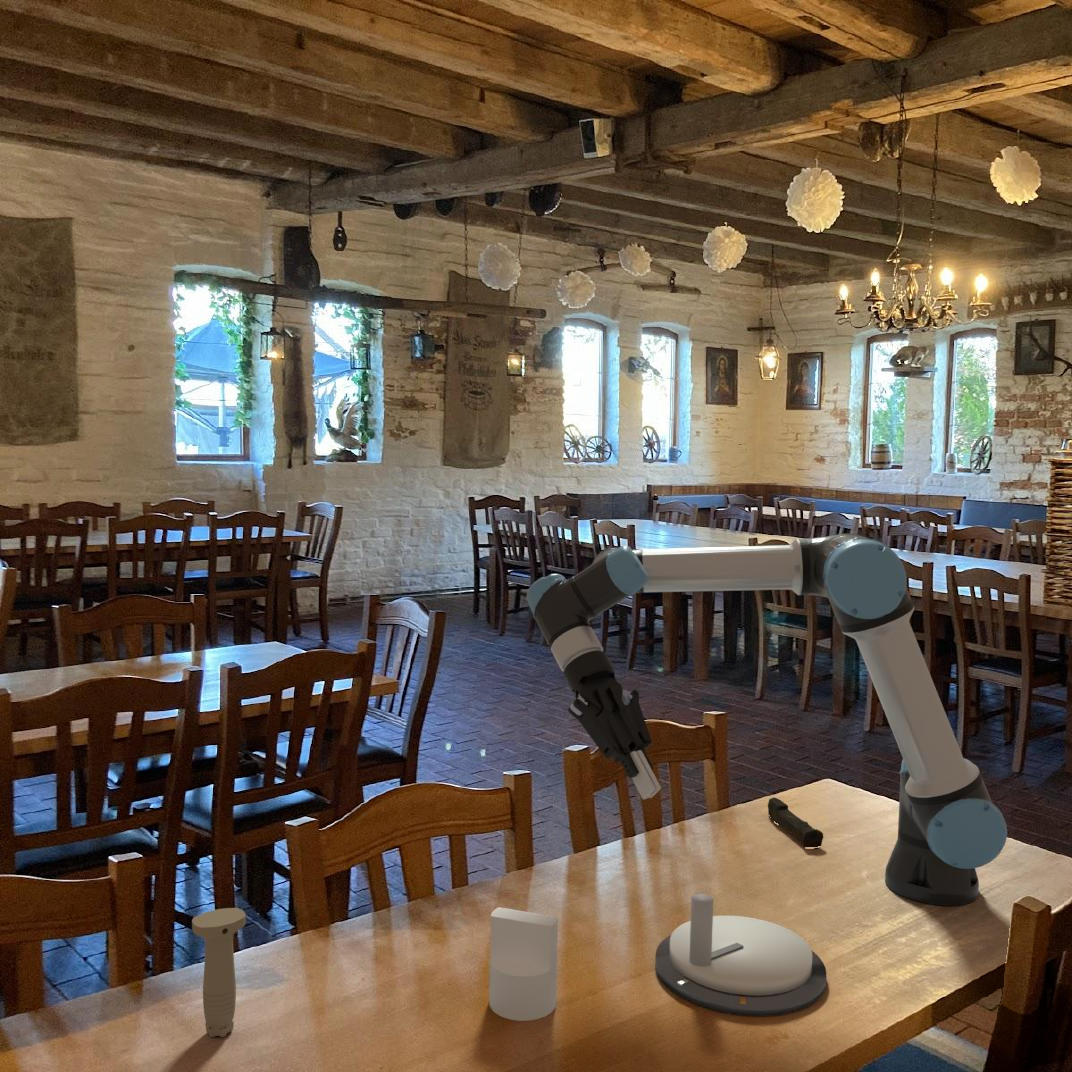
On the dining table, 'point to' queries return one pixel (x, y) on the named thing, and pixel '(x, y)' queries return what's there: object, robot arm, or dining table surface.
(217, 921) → the handle
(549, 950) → the cylinder with rectangular tab
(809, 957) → the dial
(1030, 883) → the dining table surface
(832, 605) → the robot arm
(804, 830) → the hand tool
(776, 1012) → the dial base
